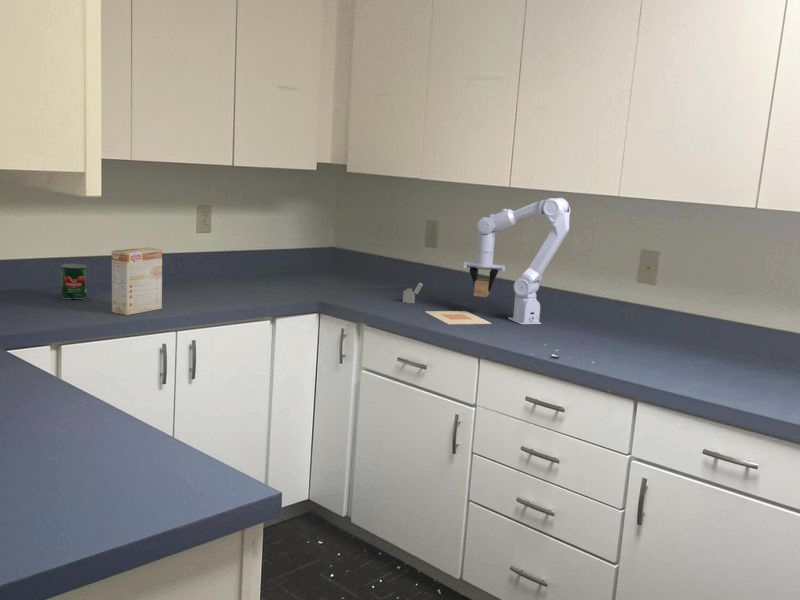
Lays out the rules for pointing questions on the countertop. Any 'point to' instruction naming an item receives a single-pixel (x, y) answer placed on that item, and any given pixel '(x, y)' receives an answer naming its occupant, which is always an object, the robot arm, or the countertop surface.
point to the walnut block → (481, 287)
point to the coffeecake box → (136, 280)
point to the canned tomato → (73, 281)
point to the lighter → (411, 294)
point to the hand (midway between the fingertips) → (482, 289)
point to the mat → (457, 317)
